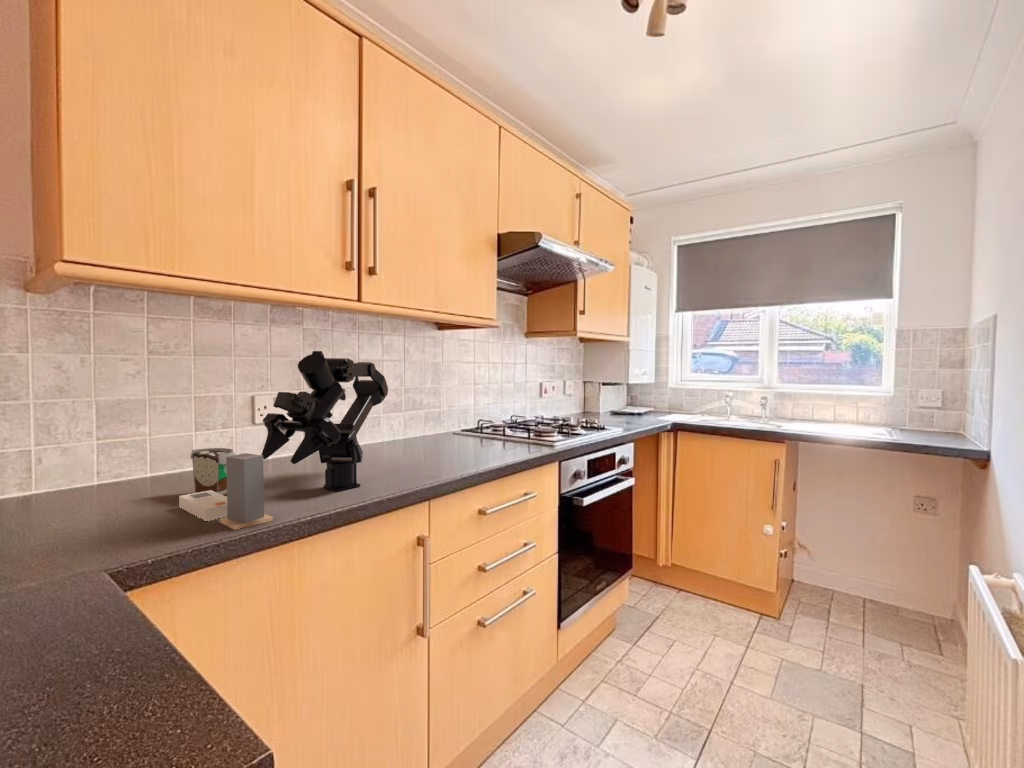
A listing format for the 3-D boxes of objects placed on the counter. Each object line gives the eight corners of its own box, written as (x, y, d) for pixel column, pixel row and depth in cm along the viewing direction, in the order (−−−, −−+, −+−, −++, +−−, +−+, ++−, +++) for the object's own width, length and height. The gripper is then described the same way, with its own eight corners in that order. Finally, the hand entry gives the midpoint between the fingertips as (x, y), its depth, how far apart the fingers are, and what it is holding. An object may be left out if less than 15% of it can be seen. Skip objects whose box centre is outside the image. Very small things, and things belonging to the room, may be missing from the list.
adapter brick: (246, 513, 96) (245, 453, 96) (264, 516, 94) (263, 455, 94) (227, 519, 93) (226, 456, 92) (245, 523, 91) (244, 459, 90)
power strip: (202, 497, 109) (201, 485, 109) (239, 514, 98) (238, 500, 98) (170, 503, 105) (170, 490, 105) (206, 521, 93) (205, 507, 93)
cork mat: (256, 513, 98) (256, 510, 98) (273, 520, 94) (273, 517, 94) (218, 522, 93) (218, 518, 93) (234, 530, 89) (234, 526, 89)
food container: (248, 493, 113) (247, 450, 112) (220, 500, 107) (220, 455, 107) (218, 486, 119) (217, 445, 119) (191, 492, 114) (190, 449, 113)
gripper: (269, 376, 108) (221, 433, 99) (329, 379, 99) (282, 440, 90) (300, 409, 115) (258, 464, 106) (358, 413, 107) (317, 474, 97)
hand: (277, 460), depth 100 cm, fingers open, 9 cm apart
